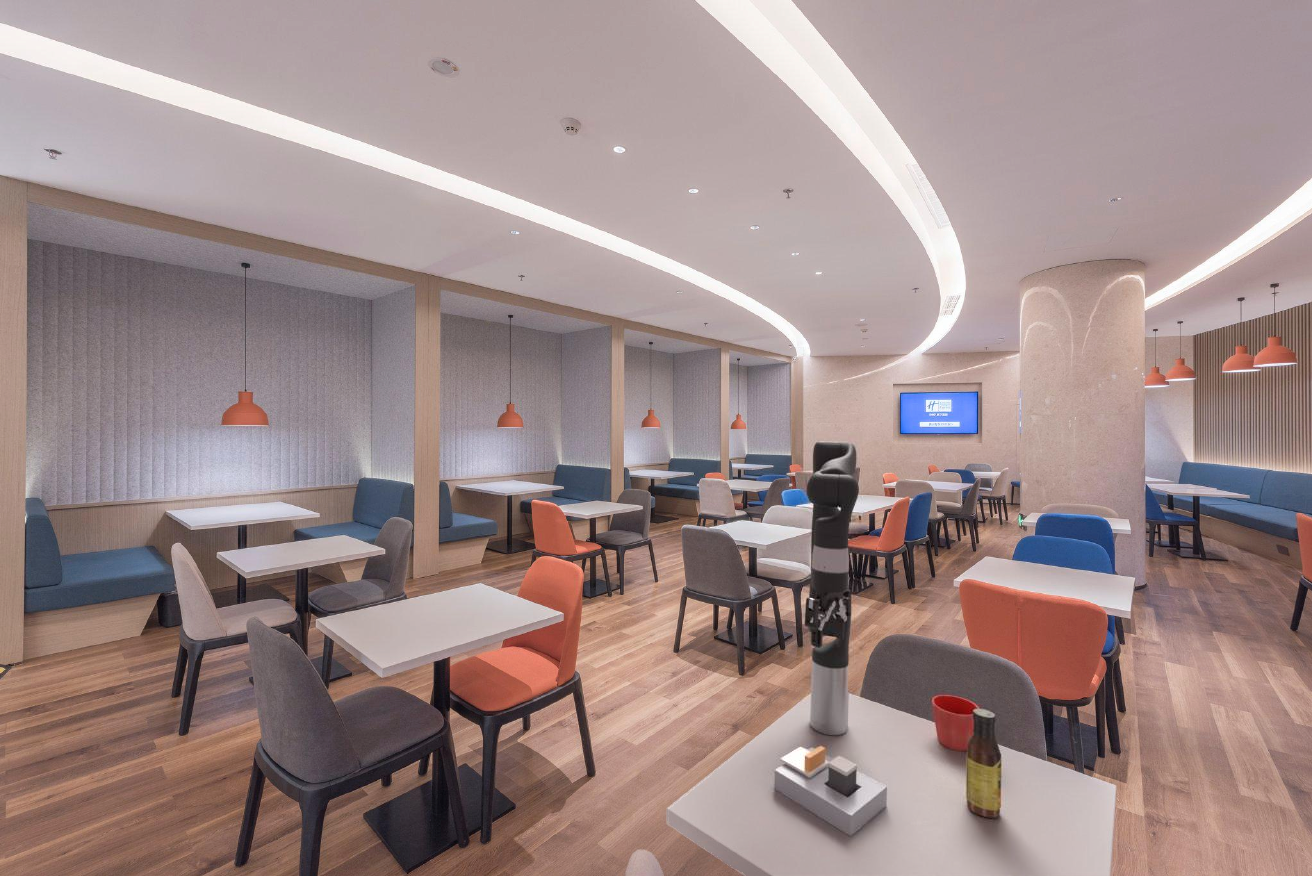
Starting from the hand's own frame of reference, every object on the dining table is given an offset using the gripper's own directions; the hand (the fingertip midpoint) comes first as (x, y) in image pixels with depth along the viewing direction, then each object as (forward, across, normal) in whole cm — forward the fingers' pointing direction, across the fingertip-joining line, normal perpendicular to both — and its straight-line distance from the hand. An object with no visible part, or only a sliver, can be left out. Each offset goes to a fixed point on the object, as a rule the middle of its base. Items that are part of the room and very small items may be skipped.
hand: (827, 642), depth 118 cm
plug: (+32, -1, -5) cm, 32 cm away
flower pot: (+32, +43, -10) cm, 55 cm away
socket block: (+32, -1, -2) cm, 32 cm away
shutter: (+28, -1, +4) cm, 28 cm away
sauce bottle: (+32, +21, -24) cm, 45 cm away
